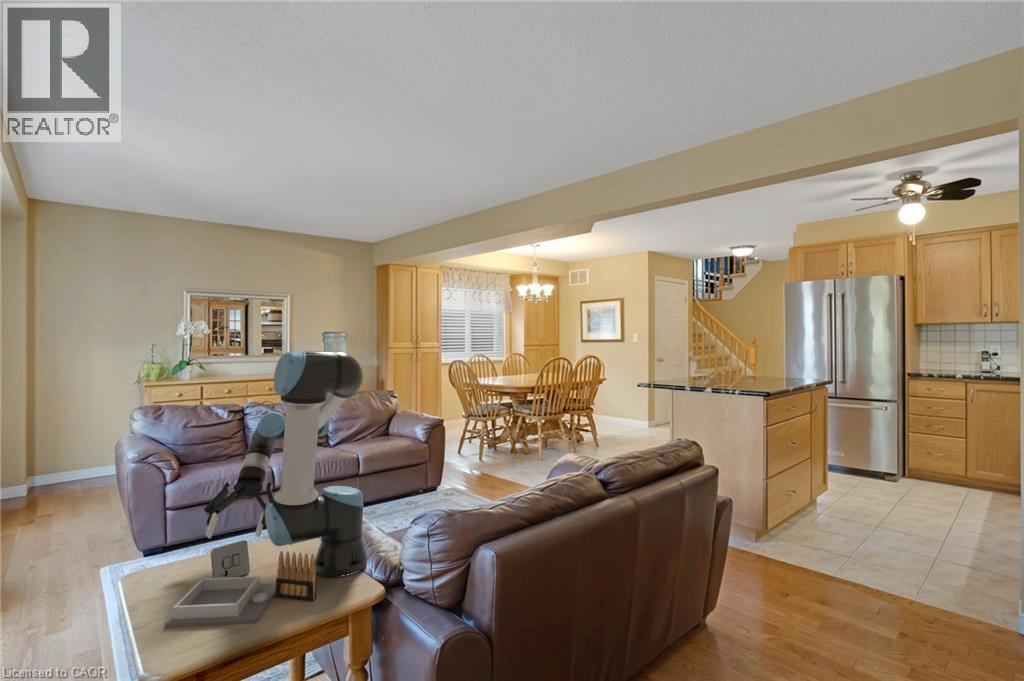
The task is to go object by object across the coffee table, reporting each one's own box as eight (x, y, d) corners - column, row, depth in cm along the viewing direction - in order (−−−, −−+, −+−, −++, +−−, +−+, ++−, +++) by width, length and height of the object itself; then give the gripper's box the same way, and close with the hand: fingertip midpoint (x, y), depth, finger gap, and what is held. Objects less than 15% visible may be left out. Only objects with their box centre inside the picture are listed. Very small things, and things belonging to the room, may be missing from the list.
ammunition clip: (316, 598, 131) (318, 552, 131) (312, 602, 129) (314, 555, 129) (279, 594, 133) (280, 549, 133) (274, 597, 131) (276, 551, 131)
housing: (280, 585, 137) (280, 572, 137) (256, 622, 119) (256, 607, 119) (201, 589, 134) (201, 575, 134) (164, 627, 117) (165, 611, 117)
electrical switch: (215, 585, 137) (214, 550, 137) (207, 581, 140) (207, 547, 140) (250, 573, 144) (250, 540, 145) (242, 570, 147) (242, 537, 148)
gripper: (296, 476, 166) (280, 539, 151) (215, 477, 162) (191, 542, 148) (292, 464, 160) (275, 529, 146) (208, 464, 157) (182, 531, 142)
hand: (233, 535), depth 147 cm, fingers open, 13 cm apart
